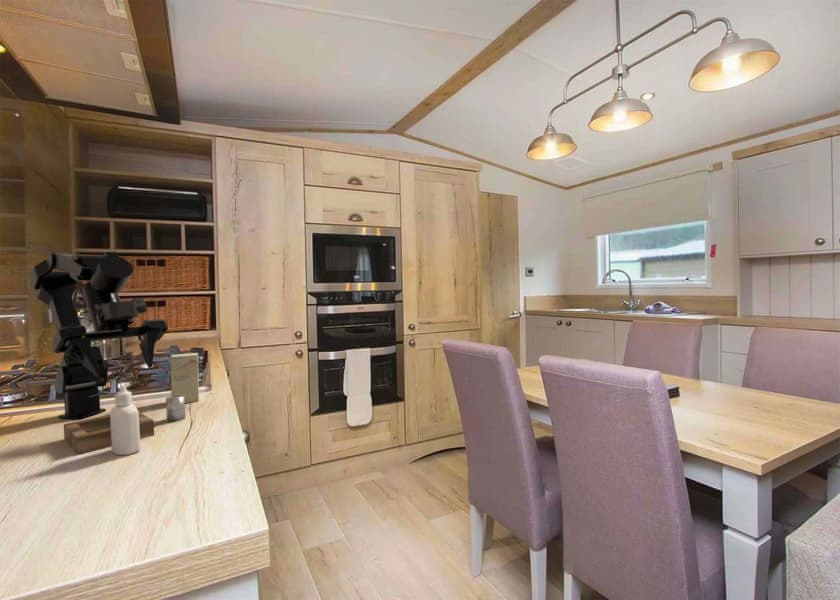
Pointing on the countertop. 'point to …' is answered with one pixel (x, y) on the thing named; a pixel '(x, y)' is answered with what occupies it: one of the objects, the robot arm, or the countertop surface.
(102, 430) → the socket block
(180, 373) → the skincare box
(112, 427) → the eye dropper bottle
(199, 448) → the countertop surface
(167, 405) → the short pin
